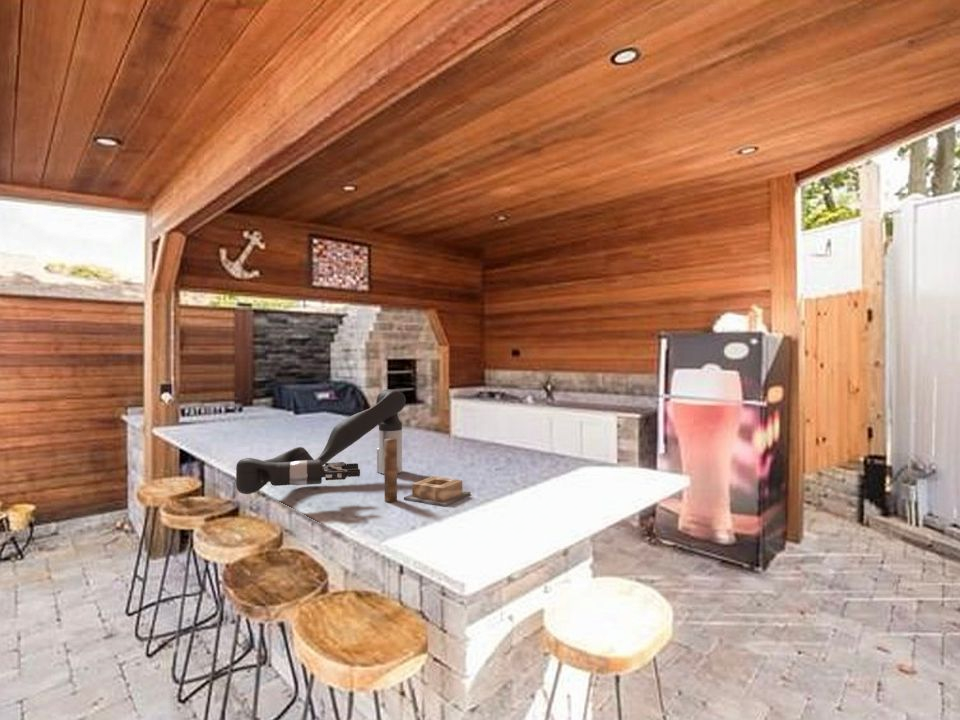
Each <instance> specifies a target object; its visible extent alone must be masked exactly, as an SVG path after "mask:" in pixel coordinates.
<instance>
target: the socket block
mask: <svg viewBox="0 0 960 720" xmlns="http://www.w3.org/2000/svg"><path fill="white" fill-rule="evenodd" d="M411 489H412V492H411V494H409V495H406V496H404V497H403V500H404V501H409V502H416V503H422V504H426V505H427V504H429V505H432V506H433V505H434V506H438V507H439V506H441V507H447V506H449V505H451V504H453V503H456V502H458V501H460V500H462V499H464V498H466V497H468V496H471V491H466V490H463V480H462V479H457V478H456V479H455V478H450V477H440V476H430V477H427V478H424V479H422V480H419V481H416V482H414V483H412V484H411Z"/></svg>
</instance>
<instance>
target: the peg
mask: <svg viewBox="0 0 960 720" xmlns="http://www.w3.org/2000/svg"><path fill="white" fill-rule="evenodd" d="M383 475H384V502H385V503H396V502H397V501H398V474H397V439H385V440H384V474H383Z"/></svg>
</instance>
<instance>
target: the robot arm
mask: <svg viewBox="0 0 960 720" xmlns="http://www.w3.org/2000/svg"><path fill="white" fill-rule="evenodd" d="M406 400H407V399H406V395H405V394H404V393H403V392H401V391H399V390H396V389H389V388H388V389H386V388H385V389H382V390H381V391H380V392H379V393H378V394H377V397H376V401H375V405H372V406H371V407H370V408H368V409H365V410H362V411H360V412H357V413H355V414H352V415H351V416H349V417H347V418H345V419H344V420H342V421H341V422H339V423H337V424H336V425H335V426H334V427H333V428H332V431H331V432H330V434H329V437H328V440H327V443H326V445H325V447H324V449H323V450H322V452H321V453H320V455H319V456H318V457H317V458H316V459H314V458H313V457H312V456H311V455H310V453H309V452H308V451H307V450H306V449H305V447H302V446H298V447H294V448H292V449H289V450H288V451H286V452H284V453H281V454H280V455H278V456H275V457H274V458H273V457H272V458H270V459H265V460H262V459H258V458H252V457H244V458H242V459H240V460H238V462H236V466H235V470H236V472H235V478H236V479H235V480H236V481H235V487H236V490H237V491H238V492H239V493H240V494H243V495H251V494H255V493H257V492H258V491H260V490H261V489H263V487H265V485H266V484H268V483H270V485H271V486H274V487H275V486H279V487H280V486H309V485H310V486H311V485H321V484H322V481H323V479H322V478H324V479H325V481H335V480H336V481H338V480H339V481H340V480H343V481H344V480H346V479H348V478H350V477H351V478H353V477H360V476H361V469H360V468H359V463H358V462H357V463H356V462H355V463H352V462H351V463H346V462H344V461H340V462H338V461H337V462H329V461H330V460H332V459H333V458H334V457H335V456H337V455H338V454H340V453H341V452H343V451H344V450H346V449H348V448H349V447H350V446H352V445H353V444H355V443H356V442H357V441H359V440H360V439H362V438H363V437H364V436H365V435H366V434H369V432H371V431H372V430H373V429H374V428H376V427H377V426H378V447H377V448H376V473H378V474H381V473H382V475H384V440H385V439H397V475H398V474H401V473H402V472H403V424H402V421H401V420H400V419H399V418H400V417H399V415H398V413H400V412H401V411H402V410H403V409H404V407H405V406H406V402H407V401H406Z"/></svg>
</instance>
